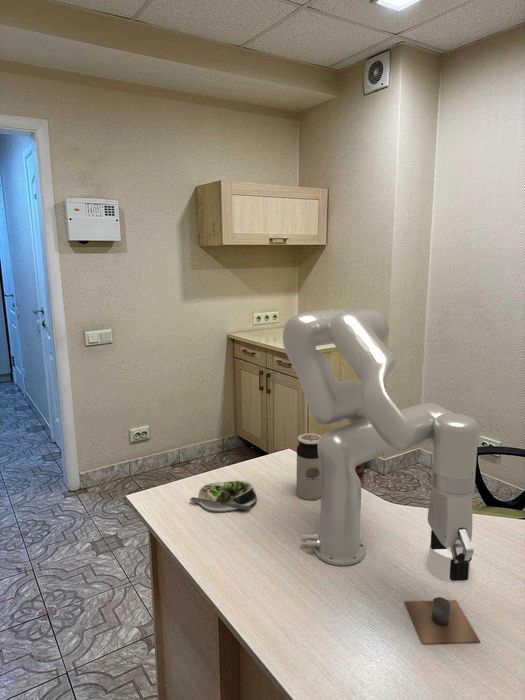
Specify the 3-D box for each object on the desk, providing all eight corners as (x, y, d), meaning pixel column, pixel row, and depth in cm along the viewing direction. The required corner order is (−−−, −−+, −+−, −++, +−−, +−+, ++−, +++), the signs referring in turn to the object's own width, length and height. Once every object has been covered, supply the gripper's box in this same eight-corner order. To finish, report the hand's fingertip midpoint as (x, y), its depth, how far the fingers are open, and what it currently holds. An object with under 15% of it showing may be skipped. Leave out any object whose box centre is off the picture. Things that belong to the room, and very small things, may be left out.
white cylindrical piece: (419, 563, 117) (423, 517, 114) (449, 553, 120) (452, 508, 117) (447, 587, 108) (451, 538, 106) (478, 576, 112) (483, 528, 109)
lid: (422, 647, 93) (423, 624, 92) (404, 605, 104) (405, 584, 103) (479, 645, 93) (482, 623, 92) (455, 604, 104) (457, 583, 103)
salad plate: (190, 520, 136) (190, 504, 135) (189, 488, 153) (189, 475, 152) (260, 513, 139) (260, 498, 138) (251, 483, 156) (251, 470, 155)
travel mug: (297, 486, 153) (297, 432, 149) (323, 488, 152) (324, 433, 148) (295, 499, 145) (296, 442, 142) (322, 501, 144) (323, 443, 141)
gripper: (417, 462, 100) (414, 538, 103) (451, 504, 83) (446, 594, 86) (454, 460, 100) (449, 537, 104) (495, 502, 83) (488, 593, 87)
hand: (448, 563), depth 95 cm, fingers open, 9 cm apart
